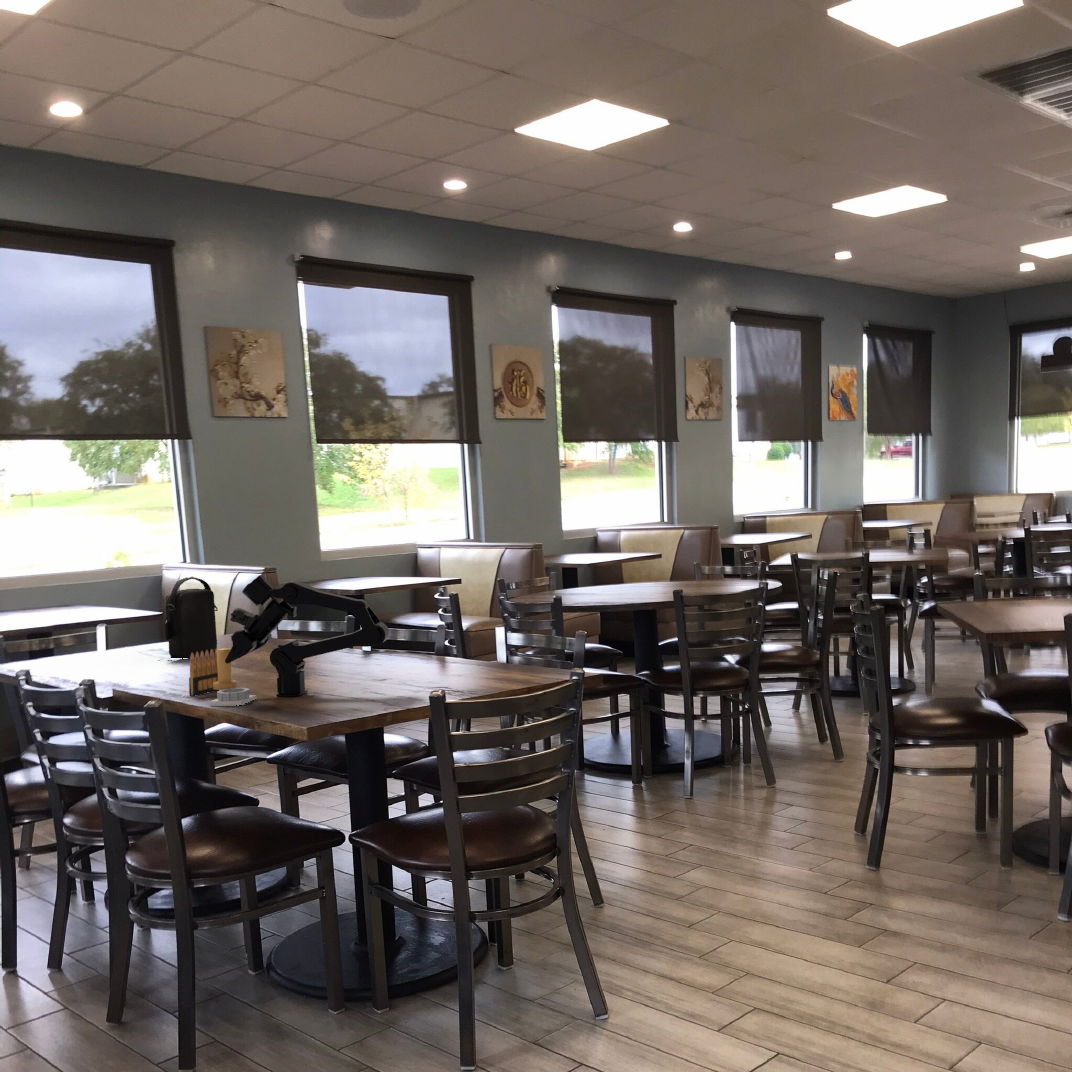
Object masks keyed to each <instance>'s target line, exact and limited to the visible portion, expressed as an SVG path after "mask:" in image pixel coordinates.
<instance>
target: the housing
mask: <svg viewBox="0 0 1072 1072" xmlns="http://www.w3.org/2000/svg"><path fill="white" fill-rule="evenodd" d="M216 694H217V697H216V698H215V699H213V700H210V701H209V702H210V703H209V705H210V707H240V706H239V705H242V706H244V705H246V704H245V703H247V704H249V703H251V702H250V701H252V700H254V699H256V700H257V695H256V694H250V688H248V687H237V688H229V689H223V690H219V691H216ZM254 701H255V700H254ZM248 702H249V703H248ZM252 702H253V701H252ZM236 705H237V706H236Z"/></svg>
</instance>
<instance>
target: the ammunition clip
mask: <svg viewBox="0 0 1072 1072" xmlns="http://www.w3.org/2000/svg"><path fill="white" fill-rule="evenodd" d="M217 649H218V647H217V648H216V650H215V653H214V652H213V650H212V649H211V651H210V655H209V653H208V650H206V653H205V656H204V653H203V651H201V654H200V657H199V653H198V652H196V656H195V658H194V654H193V652H192V653H191V657H190V659H189V662H190V665H189V677H188V681H189V683H188V684H189V685H188V689H189V694H188V695H190V697H196V696H195V695H198V696H201V695H200V694H202V695H205V694H204V693H207V692H211V693H213V692H212V691H215V692H217V690H214V689H213V683H214V682H217V681H218V669H217ZM207 694H208V693H207Z"/></svg>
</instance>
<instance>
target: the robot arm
mask: <svg viewBox="0 0 1072 1072" xmlns="http://www.w3.org/2000/svg"><path fill="white" fill-rule="evenodd" d="M241 593H242V594H243V595H244V596H245V597H246V598H248V600H249V601H251V602H252V604H254V605H255V606H256V607H259V606H261V607H264V606H265V607H264V609H262V610H261V611H260V612H259V613H257V614H254V613H253V612H250V611H248V610H246V609H243V608H240V607H237V608H234V609H233V611H232V612H231V613H230V618H229V621H231V622H233V623H237V624H239V625H242V626H243V629H239V630H236V631H235V632H234V633H232V635H231V636H230V638H231V641H232V646H231V648H230V652H229V654H228V656H227V658H226V659H225V662H226V663H227V664H228V663H230V662H231V663H232V662H234V661H236V660H238V659H240V658H242V657H244V656H246V655H249V654H250V653H252V652H254V651H257V650H258V649H260V648H262V647H265V645H267V644H268V643H270V642H271V641H272V639H273V638H272V636H273V635H272V632H273V631H275V630H276V629H277V628H278V626H279V625H280V624H281V622H282V621H283V620H284V619H285V618H286V617H287V616H290V618H294V617H297V616H298V615H297V608H298V607H297V606H292V605H315V606H320V607H324V608H329V609H332V610H336V611H342V612H345V613H349V614H353V615H354V616H355V618H356V620H357V622H358V624H359V627H360V629H358V630H356V631H354V632H350V633H349V632H348V633H346V634H342V635H337V636H333V637H329V638H328V637H327V638H325V639H321V640H317V641H312V642H307V643H300V642H299V638H297V639H294V640H292V641H283V642H281V643H279V644H278V645H277V647H276V648H273V649H272V650H271V652H270V655H269V661H270V665H272V666H273V667H275V670H276V672H277V678H276V690H277V693H276V697H300V696H302V695H305V694H307V693H308V690H306V684H305V683H306V682H305V680H306V679H305V670H304V668H305V665H306V661H305V659H308V658H313V657H317V656H320V655H325V654H328V653H333V652H338V651H342V650H346V649H351V648H354V647H355V648H356V647H357V648H358V647H360V648H361V647H362V648H363V647H368V648H369V647H377V646H380V645H382V644H383V643H384V642H386V641H387V640H388V639H389V636H390V629H389V626H387V625H386V623H384V622H382V621H381V620H380V618H379V617H378V616H377V614H376V613H375V611H374V610H373V609H372V608H371V606H370V605H369V603H368V601H366V599H358V598H354V597H349V596H344V595H341V594H335V593H331V592H328V591H324V590H319V589H318V588H315V587H313V586H311V585H310V584H307V583H305V582H302V581H300V580H293V581H290V582H287V583H285V584H284V585H282V586H277V587H274V586H273V585H271V584H270V583H269V581H267V580H266V577H264V576H263V575H262V574H259V575H258V576H256V578H255V579H253V580H252V581H251V582H249V583H247V584H246V586H245V587H244V588H243V589H242V591H241ZM290 604H291V605H290ZM306 692H307V693H306Z"/></svg>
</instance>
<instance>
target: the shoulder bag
mask: <svg viewBox="0 0 1072 1072" xmlns="http://www.w3.org/2000/svg"><path fill="white" fill-rule="evenodd" d="M189 580H196V581H198V582H199V583H200V584H201V585H203V588H185V589H180V590H179V588H180V587H181V585H184V583H185V582H187V581H189ZM218 611H219V610H218V607H217V605H216V603H215V594H214V592H213V590H212V589H211V586H210V585H209V583H208V582H207V581H205V580H204V579H201V578H200V577H199V578H198V577H194V576H190V577H184V578H181V579H179V580H177V581H176V582H175V583H174V585H173V586H172V590H171V593H168V595H166V596H165V622H164V638H165V641H168V653H169V655H170V658H182V659H183V658H190V657H191V653H192V652H193V654H194V657H195V656H196V652H198V653H199V658H200V654H201V651H203V653H204V657H205V653H206V650H208V653H209V656H210V651H211V649H212V650H213V652H214V654H215V650H216V648H217V649H218V638H217V627H216V625H217V624H216V612H218ZM160 660H161V659H157V661H159V662H161V661H160Z"/></svg>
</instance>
